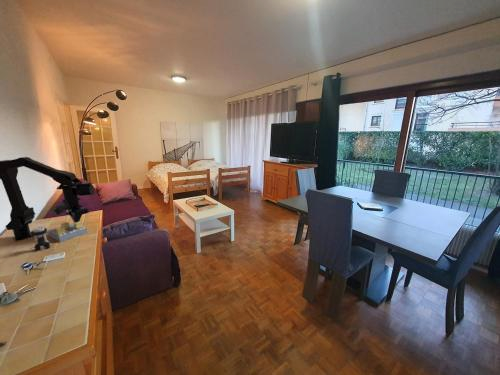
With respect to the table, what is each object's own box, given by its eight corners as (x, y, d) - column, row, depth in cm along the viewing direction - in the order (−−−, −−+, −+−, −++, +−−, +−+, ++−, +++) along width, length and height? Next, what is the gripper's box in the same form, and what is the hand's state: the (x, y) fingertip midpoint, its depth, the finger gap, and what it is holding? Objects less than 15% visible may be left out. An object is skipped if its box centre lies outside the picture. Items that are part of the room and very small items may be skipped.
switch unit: (49, 236, 110) (47, 230, 109) (75, 228, 120) (74, 222, 119) (60, 242, 103) (58, 235, 102) (87, 233, 113) (86, 227, 112)
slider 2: (61, 228, 111) (60, 223, 110) (68, 226, 113) (67, 221, 113) (63, 229, 110) (62, 224, 109) (70, 227, 112) (68, 222, 111)
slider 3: (75, 227, 112) (73, 222, 111) (81, 226, 114) (80, 221, 114) (77, 228, 111) (76, 223, 110) (83, 226, 113) (82, 221, 112)
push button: (29, 253, 93) (24, 232, 90) (32, 248, 97) (27, 228, 95) (50, 249, 96) (45, 229, 94) (52, 244, 101) (47, 225, 98)
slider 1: (56, 234, 105) (55, 228, 104) (63, 231, 107) (62, 226, 106) (58, 235, 103) (57, 229, 103) (65, 232, 106) (64, 227, 105)
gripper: (43, 198, 108) (50, 226, 111) (59, 203, 99) (66, 233, 102) (70, 193, 117) (75, 219, 120) (86, 197, 108) (92, 225, 111)
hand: (76, 224), depth 113 cm, fingers closed
